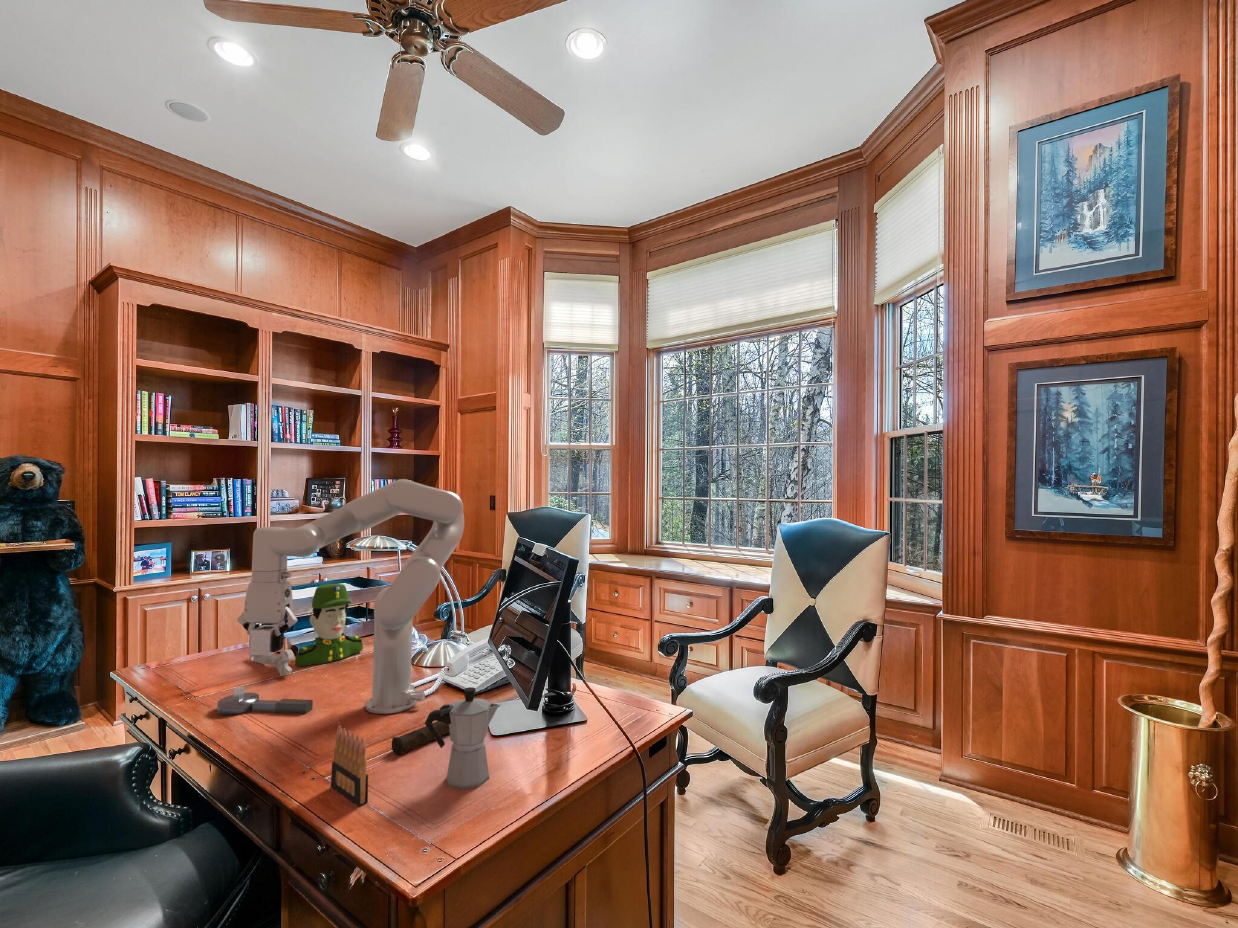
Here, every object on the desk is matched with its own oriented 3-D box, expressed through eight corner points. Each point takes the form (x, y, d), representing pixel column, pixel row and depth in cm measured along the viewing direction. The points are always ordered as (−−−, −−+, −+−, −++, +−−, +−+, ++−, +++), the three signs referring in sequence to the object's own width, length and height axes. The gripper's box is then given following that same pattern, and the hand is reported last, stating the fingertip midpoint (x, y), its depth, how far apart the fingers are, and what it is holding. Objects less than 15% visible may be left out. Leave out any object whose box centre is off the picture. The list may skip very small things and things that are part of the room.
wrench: (256, 667, 188) (295, 677, 170) (249, 669, 187) (288, 679, 168) (255, 643, 189) (294, 649, 171) (249, 644, 188) (288, 651, 169)
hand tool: (400, 759, 123) (400, 737, 124) (390, 753, 126) (390, 732, 126) (471, 730, 138) (472, 710, 138) (461, 725, 141) (462, 706, 141)
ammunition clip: (368, 802, 106) (369, 737, 107) (358, 806, 105) (360, 741, 105) (340, 783, 113) (341, 722, 113) (330, 787, 111) (332, 725, 112)
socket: (282, 649, 144) (283, 625, 144) (269, 655, 139) (270, 630, 139) (262, 648, 144) (263, 624, 144) (249, 654, 139) (250, 629, 139)
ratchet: (319, 704, 151) (319, 683, 151) (298, 718, 142) (298, 696, 142) (234, 701, 153) (234, 680, 153) (208, 715, 144) (209, 693, 144)
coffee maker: (495, 762, 122) (497, 677, 123) (503, 782, 114) (505, 692, 114) (422, 774, 116) (424, 686, 117) (424, 797, 108) (427, 701, 109)
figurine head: (304, 671, 176) (306, 590, 177) (287, 664, 183) (289, 586, 184) (371, 655, 194) (373, 581, 195) (353, 648, 201) (355, 577, 202)
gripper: (311, 575, 145) (308, 646, 145) (246, 573, 146) (243, 644, 145) (293, 580, 138) (290, 655, 137) (225, 578, 139) (221, 653, 138)
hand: (266, 649), depth 141 cm, fingers closed on socket, 5 cm apart
